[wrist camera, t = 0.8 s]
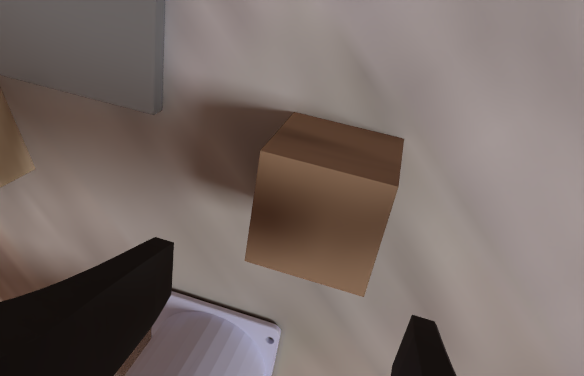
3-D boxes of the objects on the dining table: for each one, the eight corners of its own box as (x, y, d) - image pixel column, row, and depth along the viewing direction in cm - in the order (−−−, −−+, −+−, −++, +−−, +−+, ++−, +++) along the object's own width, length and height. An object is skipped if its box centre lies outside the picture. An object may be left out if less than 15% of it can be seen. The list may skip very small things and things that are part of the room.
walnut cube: (375, 232, 22) (363, 296, 18) (278, 205, 23) (244, 261, 19) (404, 138, 20) (398, 186, 16) (294, 111, 21) (260, 150, 16)
